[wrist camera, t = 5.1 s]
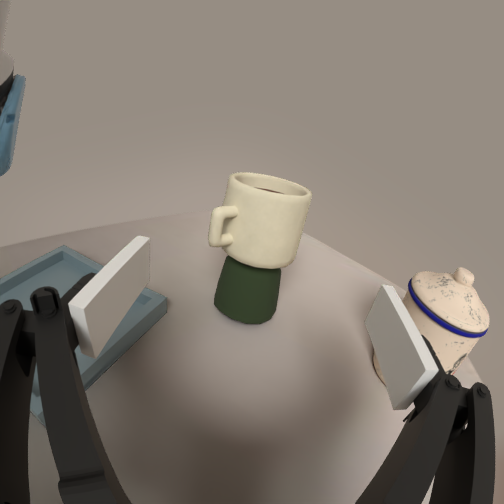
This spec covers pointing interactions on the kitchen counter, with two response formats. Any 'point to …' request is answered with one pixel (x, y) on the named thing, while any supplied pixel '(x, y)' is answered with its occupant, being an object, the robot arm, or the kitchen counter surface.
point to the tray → (63, 278)
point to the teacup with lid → (445, 315)
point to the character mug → (256, 242)
